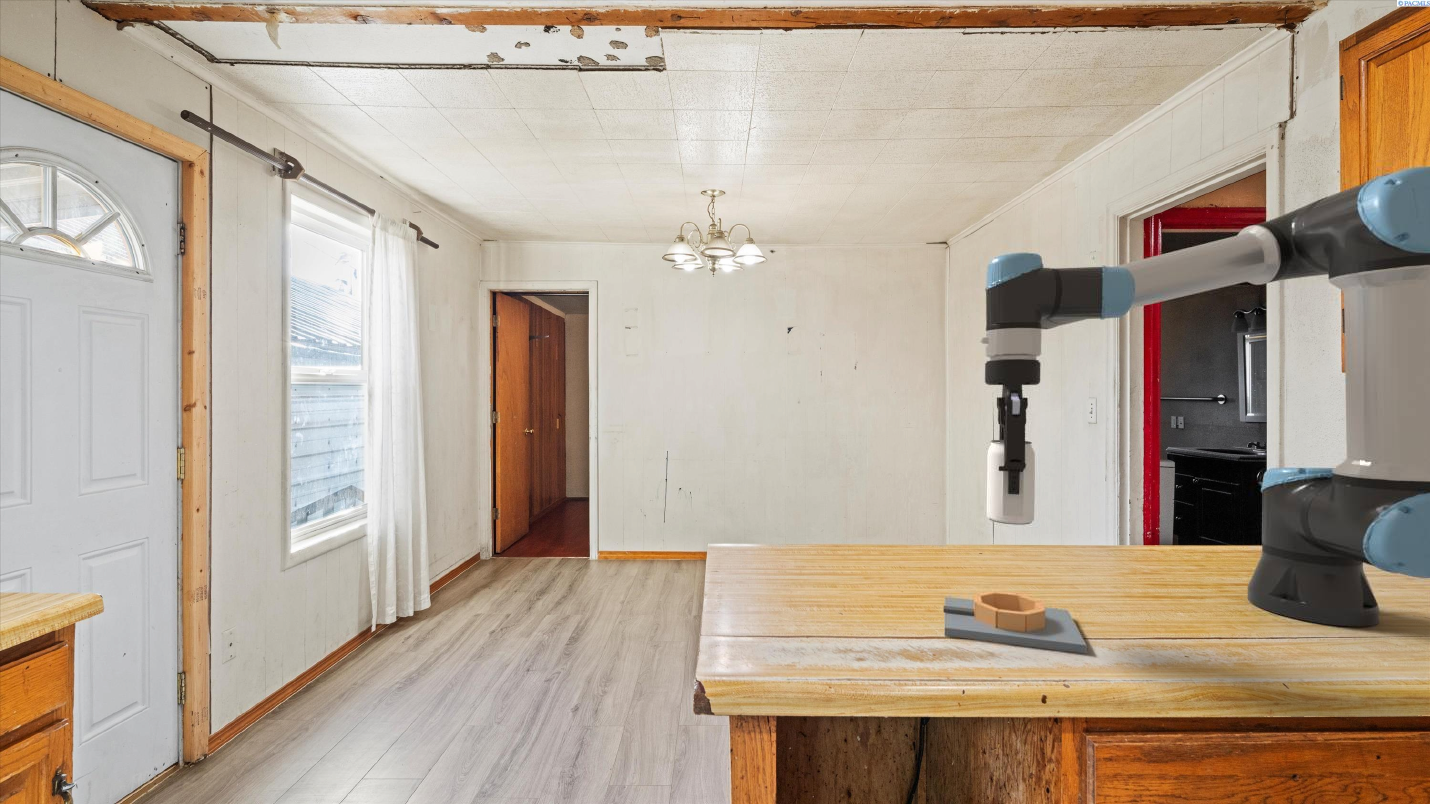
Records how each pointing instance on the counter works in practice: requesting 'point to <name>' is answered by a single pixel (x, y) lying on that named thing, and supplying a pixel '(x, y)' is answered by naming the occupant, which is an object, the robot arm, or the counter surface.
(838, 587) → the counter surface
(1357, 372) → the robot arm
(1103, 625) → the counter surface
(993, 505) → the can
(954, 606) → the board
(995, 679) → the counter surface
